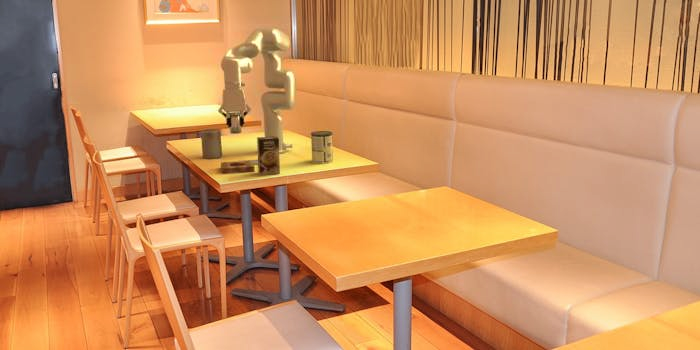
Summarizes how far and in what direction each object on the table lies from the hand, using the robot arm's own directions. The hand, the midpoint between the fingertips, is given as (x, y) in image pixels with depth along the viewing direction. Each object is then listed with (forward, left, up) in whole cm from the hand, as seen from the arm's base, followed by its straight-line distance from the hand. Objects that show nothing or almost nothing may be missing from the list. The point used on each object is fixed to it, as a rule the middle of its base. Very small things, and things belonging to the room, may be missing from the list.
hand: (235, 126), depth 288 cm
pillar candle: (+10, -33, -20) cm, 40 cm away
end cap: (0, 0, -3) cm, 3 cm away
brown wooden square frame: (0, 0, -20) cm, 20 cm away
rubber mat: (-7, -13, -20) cm, 25 cm away
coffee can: (-41, -6, -20) cm, 46 cm away
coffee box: (-13, +12, -20) cm, 27 cm away
